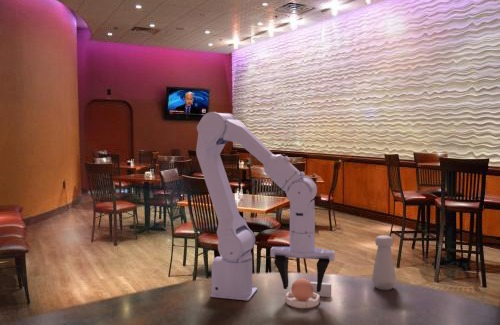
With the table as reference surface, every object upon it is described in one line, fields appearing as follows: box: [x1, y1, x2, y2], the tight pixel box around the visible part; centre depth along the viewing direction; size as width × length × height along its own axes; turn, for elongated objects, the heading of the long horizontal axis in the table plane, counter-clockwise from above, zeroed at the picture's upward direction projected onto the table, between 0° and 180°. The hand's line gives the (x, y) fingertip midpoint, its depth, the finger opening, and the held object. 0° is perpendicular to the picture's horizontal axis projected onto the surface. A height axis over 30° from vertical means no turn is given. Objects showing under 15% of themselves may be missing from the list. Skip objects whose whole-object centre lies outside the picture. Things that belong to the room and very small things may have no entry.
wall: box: [310, 281, 332, 298], centre depth 111 cm, size 8×1×3 cm, turn 74°
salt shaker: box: [371, 234, 397, 291], centre depth 116 cm, size 6×6×13 cm
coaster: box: [284, 291, 321, 309], centre depth 107 cm, size 8×8×1 cm
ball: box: [290, 278, 313, 301], centre depth 107 cm, size 5×5×5 cm
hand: (302, 289), depth 106 cm, fingers open, 7 cm apart
